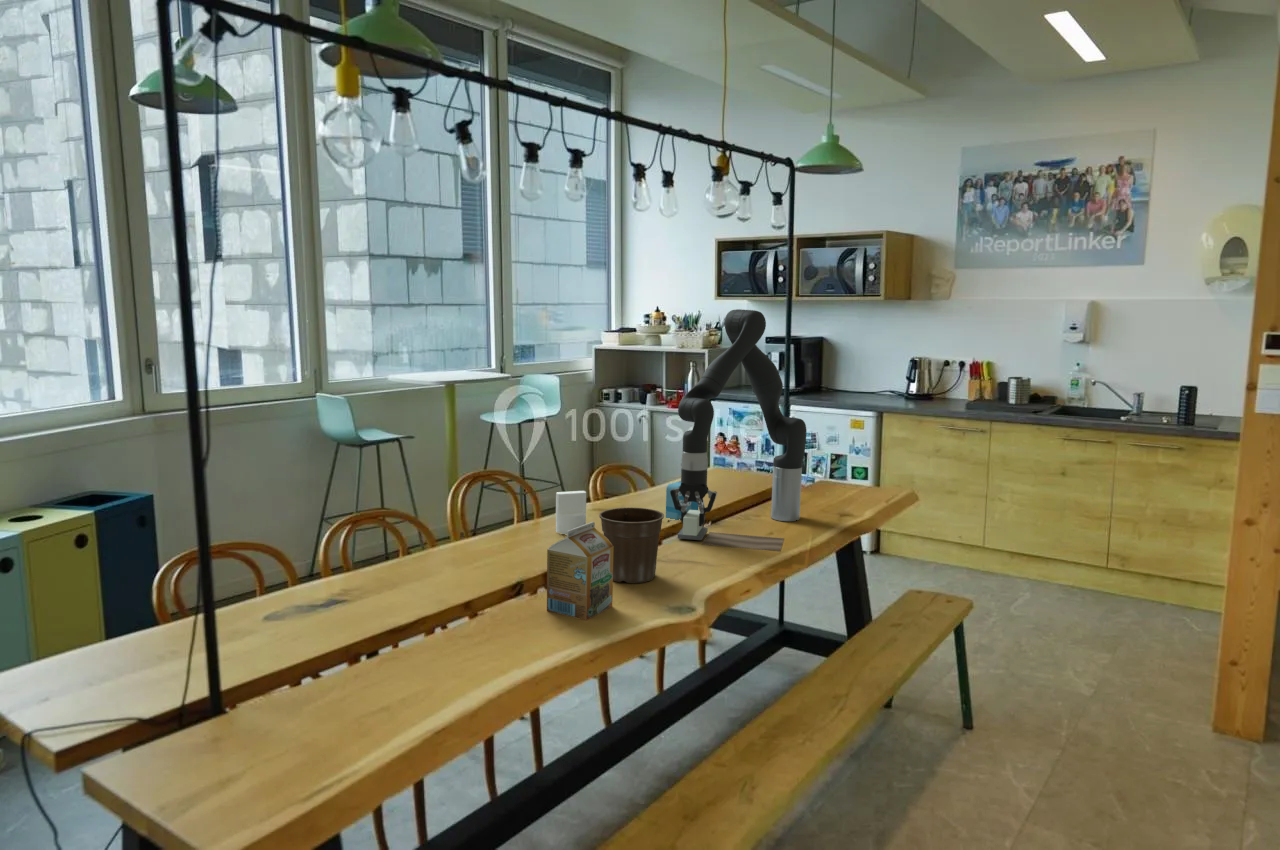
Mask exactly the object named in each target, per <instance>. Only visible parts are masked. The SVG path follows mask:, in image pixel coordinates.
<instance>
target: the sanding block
mask: <svg viewBox="0 0 1280 850" xmlns="http://www.w3.org/2000/svg"><path fill="white" fill-rule="evenodd" d="M699 514H700V510H699V509H698V510H689V511H688V512H687V514H686V515H685V516H684V517H683V523H682V528H681V529H680V530H679V532H678V533H677V539H681V540H692V541H693V540H695V541H703V539H705V538H704V537H706V534H708V533H707V532H708V527H704V526H703V525H704V524H703V525H702V526H699Z"/></svg>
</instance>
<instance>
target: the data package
mask: <svg viewBox="0 0 1280 850" xmlns="http://www.w3.org/2000/svg"><path fill="white" fill-rule="evenodd" d="M680 485H681V480H680V481H676V482H675V481H674V482H672V483H668V485H667V486H666V489H665V492H666V494H665V519H666V518H670V519H675V520H679V519H681V511H679V510H676V509H675V507H674V503H673V500H672V497H671V494H670V491H671V490H672V489H677V488H679V487H680ZM678 499H679V502H680V505H681V506H682V505H683V501H684V497H683V496H682V494H681V493H680V492H679V495H678ZM689 510H699V507H698V504H697V502H693V501H692V502H689V503H688V506H687V509H686V511H687V512H688V511H689Z"/></svg>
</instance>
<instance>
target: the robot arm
mask: <svg viewBox="0 0 1280 850" xmlns="http://www.w3.org/2000/svg"><path fill="white" fill-rule="evenodd" d="M766 321H767V320H766V317H765V315H764V314H763V313H762V312H761V311H758V310H755V309H754V310H753V309H742V308H741V309H740V308H739V309H732V310H730V311H728V312H727V314H726V316H725V318H724V330H725V333H726V335H727V338H728V339H729V341H730V342H731V345H730V346H729V347H728V348H726V350H725V351H723V352H722V353H721V354H719V355H718V356H717V357H715V358H714V359H713V360H712V361H711V362H710V364H709V365H708V366H707V367H706V369H705V371H704V372H703V374H702V375H701V377H700V378H699V381H698V382H697V383H696V384H695V385H694V386H692V387H691V389H690V390H689V391H688V392H686V393H685V394H684V396H683V397H682V398H681V399H680V401H679V403H678V408H677V412H678V413H677V415H678V416H679V418H680V419H681V420H682V421H684V422H687V423H688V422H689V423H693V427H692V429H691V430H689V429H688V430H687V431H685V432H684V433H683V435H682V453H681V460H680V461H681V463H680V468H681V469H680V472H681V473H680V481H681V485H680V487H679V488H677V489H672V490H671V491H670V494H671V497H672V500H673V503H674V507H675V509H676V510H679V511H681V521H680V522H681V523H682V524H683V517H684V516H685V515H686V514H687V511H686V509H687V506H688V503H689V502H692V501H693V502H697V504H698V510H700V514H699V526H702V525H704V524H705V521H706V513H710V512H711V510H712V509H713V507H714V503H715V500H716V498H717V496H718V492H717V491H716V490H715V491H714V490H713V491H712V490H710V489H709V487H708V461H709V460H708V438H709V434H710V430H711V427H712V424H713V421H714V415H715V410H714V405H713V403H711V401H710V400H711V399H715V398H718V397H719V395H720V394H721V392H722V391H723V389H724V388H725V387H726V384H727V382H729V381H728V380H729V379H730V377H731V376H732V374H733V373H734V371H735V370H736V368H738V366H739V365H740V363H741V365H742V367H743V368H744V370H745V373H746V375H747V378H748V380H749V384H750V386H751V387H752V391H753V392H754V395H755V396H756V399H757V402H758V404H759V406H760V409H761V412H762V414H763V418H764V422H765V426H766V429H767V432H768V435H769V437H770V439H771V441H772V442H773V443H775V444H776V445H781V446H786V450H785V453H783V454H781V455H776V456H775V457H774V458H773V463H772V482H771V483H772V486H771V487H772V488H771V509H770V518H771V519H772V520H775V521H780V522H797V521H799V520H800V514H801V494H802V473H803V472H802V471H803V461H804V458H805V454H806V453H805V451H806V442H807V425H806V422H805V421H804V420H803V419H801V418H798V417H792V416H790V417H789V416H785V415H784V414H783V413H782V411H781V408H780V404H779V403H780V399H781V396H782V392H783V388H784V385H783V381H782V378H781V375H780V372H779V370H778V368H777V366H776V365H775V363H774V362H773V361H772V360H771V359H770V358H769V357H768V356H767V355H766V354H765V353H764V352H763V351H762V350H761V349H760V348H759V347H758V346H757V343H758V342H759V341H760V340H761V338H762V337H763V335H764V333H765V330H766V326H767V322H766ZM679 492H680V493H681V494H682V496H683V497H684V501H683V505H682V506H681V505H680V502H679V499H678V495H679ZM706 495H708V499H709V501H708V503H707V506H705V500H704V498H705V497H706ZM796 520H797V521H796Z"/></svg>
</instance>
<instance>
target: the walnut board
mask: <svg viewBox="0 0 1280 850" xmlns="http://www.w3.org/2000/svg"><path fill="white" fill-rule="evenodd" d="M784 541H785V538H783V537H772V536H771V537H770V536H759V535H749V534H748V535H747V534H738V533H737V534H735V533H723V532H711V531H709V532H708V533H707V535H706V536H705V538H704V540H702V543H701V545H703V546H713V547H714V546H715V547H716V546H717V547H724V548H734V549H735V548H737V549H738V548H739V549H747V550H748V549H749V550H750V549H751V550H758V551H759V550H760V551H771V552H781V550H782V547H783V544H784Z"/></svg>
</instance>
